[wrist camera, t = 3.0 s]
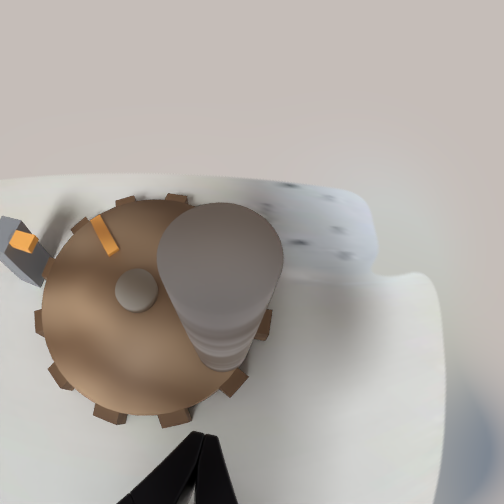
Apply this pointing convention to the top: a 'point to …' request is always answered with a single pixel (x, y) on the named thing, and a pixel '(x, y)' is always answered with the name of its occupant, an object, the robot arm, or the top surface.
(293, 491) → the top surface
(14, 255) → the grey toy mallet
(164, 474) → the robot arm
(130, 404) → the sprocket
